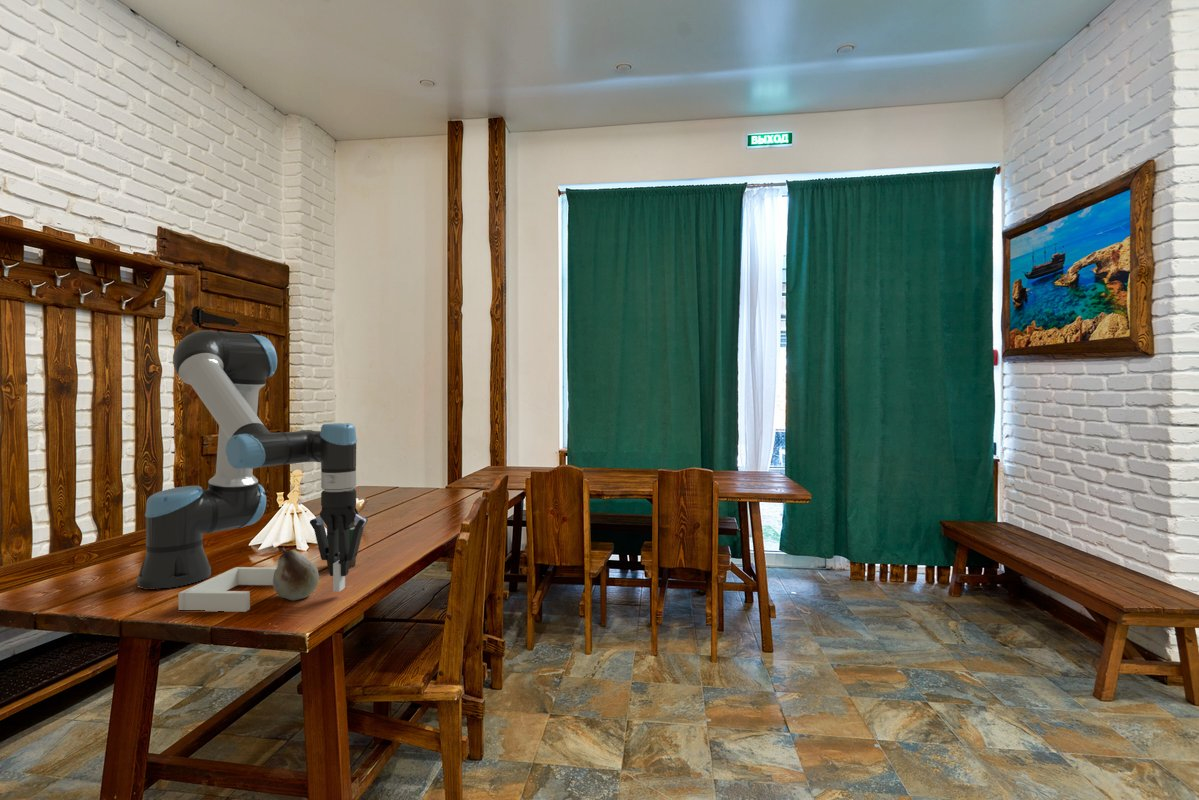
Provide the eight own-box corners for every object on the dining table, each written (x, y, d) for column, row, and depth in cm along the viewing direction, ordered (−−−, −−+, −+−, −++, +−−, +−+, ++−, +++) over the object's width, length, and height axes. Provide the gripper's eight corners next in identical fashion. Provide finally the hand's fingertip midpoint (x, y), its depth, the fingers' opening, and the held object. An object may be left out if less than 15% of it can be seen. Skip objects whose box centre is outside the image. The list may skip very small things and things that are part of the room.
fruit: (268, 596, 135) (267, 545, 135) (310, 587, 141) (310, 538, 141) (281, 607, 127) (280, 554, 127) (325, 597, 134) (325, 546, 134)
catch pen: (178, 611, 125) (178, 592, 125) (236, 582, 144) (236, 567, 144) (245, 611, 125) (245, 593, 125) (294, 583, 144) (294, 567, 144)
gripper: (302, 491, 130) (303, 594, 130) (359, 492, 130) (359, 595, 130) (319, 486, 138) (320, 584, 138) (373, 486, 137) (373, 584, 138)
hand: (339, 589), depth 134 cm, fingers closed
